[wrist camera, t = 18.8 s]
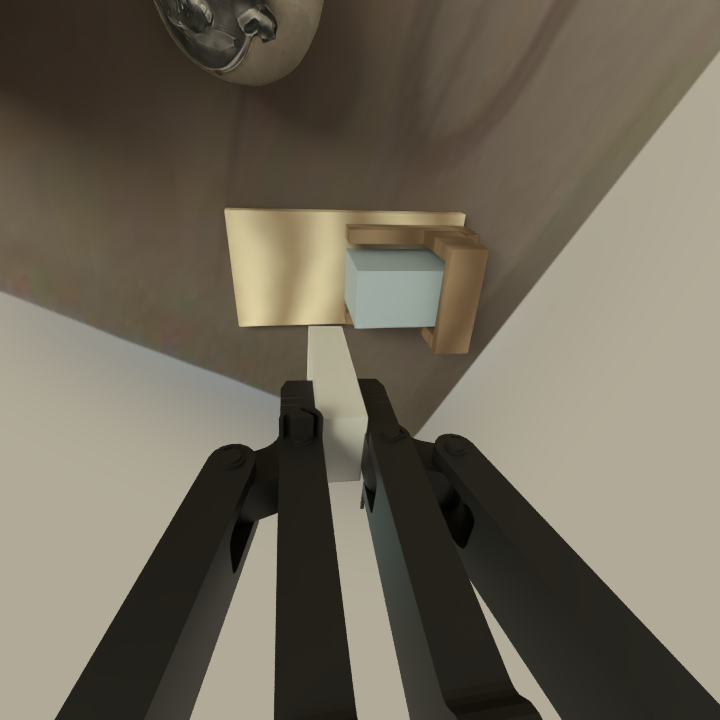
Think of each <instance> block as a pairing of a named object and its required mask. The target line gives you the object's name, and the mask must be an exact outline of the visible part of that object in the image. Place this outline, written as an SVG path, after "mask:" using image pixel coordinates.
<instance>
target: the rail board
mask: <svg viewBox="0 0 720 720" xmlns="http://www.w3.org/2000/svg"><path fill="white" fill-rule="evenodd" d="M224 212H225V220H226V228H227V235H228V243H229V251H230V259H231V267H232V275H233V283H234V291H235V298H236V306H237V314H238V322H239V327H241V326H274V325H308V324H342V323H346V325H347V324H353V321H352V318H351V316H350V313H349V310H348V307H347V304H346V302H345V299H344V295H345V265H346V248H347V249H430V250H431V251H432V252H434V253H435V254H436V255H437V256H439V257H440V258H441V259H442V260H444V261H445V266H444V272H443V278H442V285H441V291H440V297H439V303H438V310H437V316H436V322H435V326H432V327H417V329H418V330H419V332H420V333H421V335H422V336H423V338H424V339H425V341H426V342H427V344H428V345H429V347H430V348H431V350H432V351H433V353H434V354H435V355H439V354H461V353H468V349H469V344H470V340H471V335H472V330H473V326H474V321H475V316H476V312H477V307H478V303H479V298H480V293H481V289H482V284H483V279H484V275H485V270H486V266H487V261H488V256H489V252H490V249H488V248H486V247H484V246H483V245H481V244H479V243H478V241H479V236H480V235H479V234H477V233H475V232H473V231H471V230H469V229H467V228H465V227H464V221H465V216H466V215H465V214H463V213H461V212H414V211H365V210H316V209H267V208H225V210H224Z"/></svg>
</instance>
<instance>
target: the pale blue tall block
mask: <svg viewBox="0 0 720 720" xmlns="http://www.w3.org/2000/svg"><path fill="white" fill-rule="evenodd" d="M444 266H445V261H444V260H442V259H441V258H440V257H439V256H437V255H436V254H435V253H434V252H432V251H431V250H430V249H347V248H346V265H345V295H344V299H345V302H346V304H347V307H348V310H349V313H350V316H351V318H352V321H353V324H354V327H355V329H356V328H394V327H432V326H435V322H436V316H437V310H438V303H439V297H440V291H441V285H442V278H443V272H444Z"/></svg>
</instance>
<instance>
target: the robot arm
mask: <svg viewBox="0 0 720 720" xmlns="http://www.w3.org/2000/svg"><path fill="white" fill-rule="evenodd" d="M280 411H281V413H280V417H279V436H278V438H277V440H276V441H275V442H274V443H273V444H271V445H270V446H268V447H266V448H263V449H260V450H257V451H253V450H252V449H251V448H249V447H248V446H245V445H242V444H230V445H226V446H222V447H220V448H219V449H217V450H215V451H214V452H213V453H212V454H211V455H210V456H209V457H208V459H207V461H206V463H205V464H204V466H203V468H202V469H201V471H200V473H199V475H198V476H197V478H196V480H195V481H194V483H193V485H192V486H191V488H190V490H189V492H188V493H187V495H186V497H185V499H184V500H183V502H182V504H181V505H180V507H179V509H178V510H177V512H176V514H175V516H174V517H173V519H172V521H171V522H170V524H169V526H168V528H167V529H166V531H165V533H164V534H163V536H162V538H161V539H160V541H159V543H158V544H157V546H156V548H155V550H154V551H153V553H152V555H151V557H150V558H149V560H148V562H147V563H146V565H145V567H144V569H143V570H142V572H141V573H140V575H139V577H138V578H137V580H136V582H135V584H134V585H133V587H132V589H131V590H130V592H129V594H128V596H127V597H126V599H125V601H124V602H123V604H122V606H121V607H120V609H119V611H118V613H117V614H116V616H115V618H114V620H113V621H112V623H111V624H110V626H109V628H108V630H107V631H106V633H105V635H104V636H103V638H102V640H101V641H100V643H99V645H98V647H97V648H96V650H95V652H94V653H93V655H92V657H91V659H90V660H89V662H88V664H87V665H86V667H85V669H84V670H83V672H82V674H81V676H80V677H79V679H78V681H77V682H76V684H75V686H74V687H73V689H72V691H71V693H70V695H69V696H68V698H67V699H66V701H65V703H64V705H63V706H62V708H61V710H60V711H59V713H58V715H57V717H56V718H55V720H189V719H190V717H191V714H192V711H193V708H194V705H195V702H196V699H197V697H198V694H199V691H200V688H201V685H202V682H203V679H204V677H205V674H206V671H207V668H208V665H209V663H210V660H211V657H212V654H213V651H214V648H215V645H216V642H217V639H218V637H219V633H220V631H221V628H222V626H223V623H224V620H225V617H226V614H227V611H228V608H229V606H230V603H231V600H232V597H233V594H234V591H235V589H236V586H237V583H238V580H239V577H240V574H241V572H242V569H243V566H244V563H245V560H246V557H247V554H248V552H249V549H250V546H251V543H252V540H253V537H254V535H255V532H256V529H257V526H258V522H259V520H260V519H262V518H265V517H268V516H271V515H273V514H276V513H278V534H277V586H276V587H277V588H276V641H275V642H276V643H275V693H274V720H358V719H357V713H356V706H355V698H354V690H353V682H352V674H351V666H350V658H349V650H348V641H347V633H346V626H345V617H344V609H343V601H342V593H341V586H340V578H339V570H338V561H337V552H336V544H335V537H334V528H333V520H332V512H331V504H330V496H329V488H328V482H343V481H357V480H360V477H361V476H360V475H361V470H362V474H363V479H364V482H363V490H362V497H361V509H363V508H364V503H365V507H366V512H367V516H368V521H369V526H370V531H371V536H372V540H373V545H374V550H375V555H376V560H377V564H378V569H379V574H380V578H381V583H382V588H383V593H384V598H385V602H386V607H387V612H388V616H389V621H390V626H391V631H392V636H393V641H394V645H395V650H396V655H397V660H398V664H399V669H400V674H401V679H402V683H403V688H404V693H405V697H406V702H407V707H408V712H409V717H410V720H542V717H541V715H540V714H539V712H538V711H537V709H536V708H535V707H534V706H533V704H532V703H531V702H530V701H529V700H527V699H526V698H524V697H522V696H521V695H519V694H518V692H517V691H516V689H515V688H514V686H513V684H512V682H511V680H510V678H509V675H508V673H507V670H506V668H505V665H504V663H503V660H502V658H501V655H500V653H499V651H498V648H497V646H496V643H495V641H494V638H493V636H492V634H491V631H490V629H489V627H488V624H487V621H486V619H485V616H484V614H483V612H482V609H481V607H480V604H479V602H478V599H477V597H476V595H475V592H474V590H473V587H472V585H471V583H470V581H471V582H472V584H473V585H474V587H475V588H476V590H477V591H478V593H479V594H480V596H481V597H482V599H483V600H484V602H485V603H486V605H487V606H488V608H489V609H490V611H491V613H492V614H493V616H494V617H495V618H496V620H497V622H498V623H499V625H500V626H501V628H502V629H503V631H504V632H505V634H506V635H507V637H508V638H509V640H510V641H511V643H512V644H513V646H514V647H515V649H516V651H517V652H518V654H519V655H520V657H521V658H522V660H523V661H524V663H525V664H526V666H527V667H528V668H529V670H530V672H531V673H532V675H533V676H534V678H535V679H536V681H537V683H538V684H539V686H540V687H541V689H542V690H543V692H544V693H545V695H546V696H547V698H548V699H549V701H550V702H551V704H552V705H553V707H554V708H555V710H556V711H557V713H558V714H559V716H560V717H561V719H562V720H720V704H719V703H717V701H716V700H715V699H714V698H713V697H712V696H711V695H710V694H709V693H708V692H707V691H706V690H705V689H704V687H703V686H702V685H701V684H700V683H699V682H698V681H697V680H696V679H695V678H694V677H693V676H692V675H691V674H690V673H689V672H688V671H687V670H686V669H685V667H684V666H683V665H682V664H681V663H680V662H679V661H678V660H677V659H676V658H675V657H674V656H673V655H672V654H671V653H670V652H669V650H668V649H667V648H666V647H665V646H664V645H663V644H662V643H661V642H660V641H659V640H658V639H657V638H656V637H655V636H654V635H653V634H652V632H651V631H649V629H648V628H647V627H646V626H645V625H644V624H643V623H642V622H641V621H640V620H639V619H638V618H637V617H636V616H635V615H634V614H633V612H632V611H631V610H630V609H629V608H628V607H627V606H626V605H625V604H624V603H623V602H622V601H621V600H620V599H619V598H618V597H617V595H616V594H615V593H614V592H613V591H612V590H611V589H610V588H609V587H608V586H607V585H606V584H605V583H604V582H603V581H602V580H601V579H600V578H599V576H598V575H597V574H595V572H594V571H593V570H592V569H591V568H590V567H589V566H588V565H587V564H586V563H585V562H584V561H583V560H582V558H581V557H580V556H579V555H578V554H577V553H576V552H575V551H574V550H573V549H572V548H571V547H570V546H569V545H568V544H567V543H566V542H565V541H564V539H563V538H562V537H561V536H560V535H559V534H558V533H557V532H556V531H555V530H554V529H553V528H552V527H551V526H550V525H549V524H548V523H547V522H546V520H545V519H543V517H541V515H540V514H539V513H538V512H537V511H536V510H535V509H534V508H533V507H532V506H531V505H530V504H529V503H528V501H527V500H526V499H525V498H524V497H523V496H522V495H521V494H520V493H519V492H518V491H517V490H516V489H515V488H514V487H513V486H512V484H511V483H510V482H509V481H508V480H507V479H506V478H505V477H504V476H503V475H502V474H501V473H500V472H499V471H498V470H497V469H496V468H495V466H493V465H492V463H491V462H490V461H489V460H488V459H487V458H486V457H485V456H484V455H483V454H482V453H481V452H480V451H479V450H478V449H477V447H476V446H475V445H474V444H473V443H472V442H470V441H469V440H468V439H467V438H464V437H462V436H460V435H456V434H444V435H441V436H439V437H438V438H437V439H436V441H435V443H430V442H424V441H420V440H417V439H414V438H412V437H411V436H410V434H409V432H408V431H407V430H406V429H405V428H404V427H402V426H401V425H399V424H398V421H397V419H396V416H395V414H394V411H393V408H392V406H391V403H390V402H389V398H388V396H387V393H386V390H385V388H384V386H383V385H382V384H381V383H380V382H379V381H378V380H377V379H357V377H356V374H355V370H354V367H353V364H352V360H351V357H350V353H349V350H348V346H347V343H346V339H345V336H344V333H343V329H342V326H308V362H307V380H306V381H286V382H285V384H284V385H283V386H282V388H281V408H280ZM469 579H470V580H469Z"/></svg>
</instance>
